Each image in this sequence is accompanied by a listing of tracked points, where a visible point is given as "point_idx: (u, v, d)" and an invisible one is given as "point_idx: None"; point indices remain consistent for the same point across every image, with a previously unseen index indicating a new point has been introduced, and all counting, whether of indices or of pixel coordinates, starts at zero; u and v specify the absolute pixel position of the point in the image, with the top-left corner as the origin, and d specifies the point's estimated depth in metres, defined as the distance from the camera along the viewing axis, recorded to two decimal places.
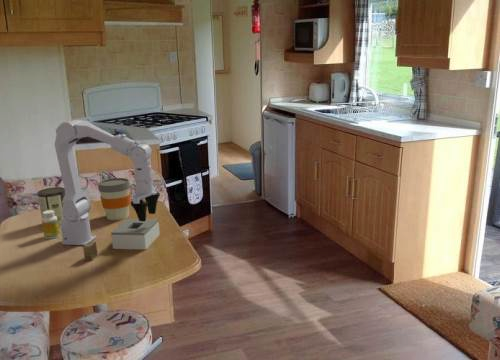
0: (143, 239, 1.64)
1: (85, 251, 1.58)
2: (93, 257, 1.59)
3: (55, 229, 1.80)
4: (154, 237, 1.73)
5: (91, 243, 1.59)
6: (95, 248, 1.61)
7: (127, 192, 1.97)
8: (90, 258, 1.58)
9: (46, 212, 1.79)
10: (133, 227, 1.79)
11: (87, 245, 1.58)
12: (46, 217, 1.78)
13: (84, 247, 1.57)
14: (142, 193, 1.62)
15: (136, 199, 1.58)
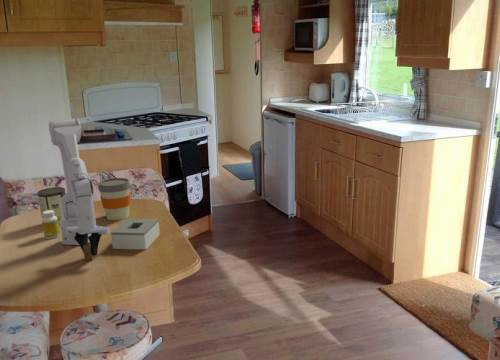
0: (143, 239, 1.64)
1: (85, 251, 1.58)
2: (93, 257, 1.59)
3: (55, 229, 1.80)
4: (154, 237, 1.73)
5: None
6: None
7: (127, 192, 1.97)
8: (90, 258, 1.58)
9: (46, 212, 1.79)
10: (133, 227, 1.79)
11: (87, 245, 1.58)
12: (46, 217, 1.78)
13: (84, 247, 1.57)
14: (78, 227, 1.58)
15: None
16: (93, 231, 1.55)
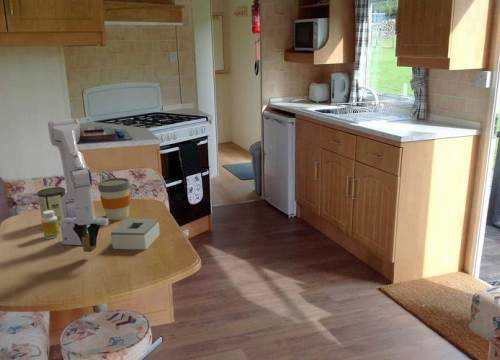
0: (143, 239, 1.64)
1: (84, 242, 1.57)
2: (92, 248, 1.58)
3: (55, 229, 1.80)
4: (154, 237, 1.73)
5: None
6: None
7: (127, 192, 1.97)
8: (89, 249, 1.57)
9: (46, 212, 1.79)
10: (133, 227, 1.79)
11: (86, 236, 1.57)
12: (46, 217, 1.78)
13: (83, 238, 1.57)
14: (77, 218, 1.57)
15: None
16: (92, 222, 1.54)
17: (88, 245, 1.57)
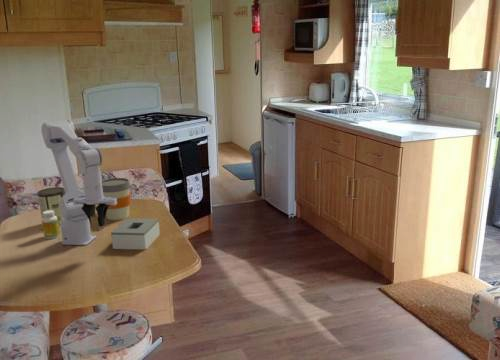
0: (143, 239, 1.64)
1: (92, 222, 1.58)
2: (100, 228, 1.60)
3: (55, 229, 1.80)
4: (154, 237, 1.73)
5: None
6: None
7: (127, 192, 1.97)
8: (97, 229, 1.59)
9: (46, 212, 1.79)
10: (133, 227, 1.79)
11: (94, 216, 1.58)
12: (46, 217, 1.78)
13: (91, 218, 1.58)
14: None
15: None
16: (100, 201, 1.56)
17: (97, 225, 1.58)
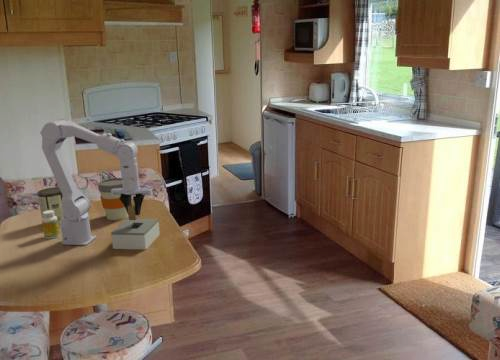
0: (143, 239, 1.64)
1: (129, 211, 1.68)
2: (136, 217, 1.70)
3: (55, 229, 1.80)
4: (154, 237, 1.73)
5: None
6: None
7: None
8: (134, 218, 1.68)
9: (46, 212, 1.79)
10: (133, 227, 1.79)
11: (131, 205, 1.68)
12: (46, 217, 1.78)
13: (128, 207, 1.68)
14: (123, 189, 1.68)
15: None
16: (138, 192, 1.66)
17: (133, 214, 1.68)
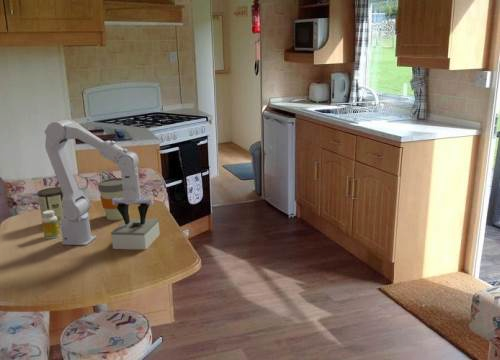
0: (143, 239, 1.64)
1: None
2: None
3: (55, 229, 1.80)
4: (154, 237, 1.73)
5: (137, 228, 1.72)
6: None
7: None
8: None
9: (46, 212, 1.79)
10: None
11: None
12: (46, 217, 1.78)
13: None
14: (124, 198, 1.69)
15: None
16: (139, 201, 1.66)
17: None
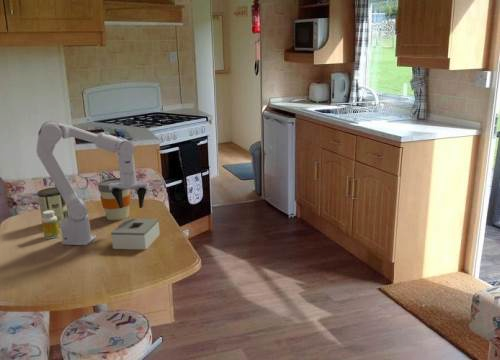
0: (143, 239, 1.64)
1: None
2: None
3: (55, 229, 1.80)
4: (154, 237, 1.73)
5: (137, 228, 1.72)
6: None
7: (127, 192, 1.97)
8: None
9: (46, 212, 1.79)
10: None
11: None
12: (46, 217, 1.78)
13: None
14: (120, 183, 1.78)
15: None
16: (135, 185, 1.76)
17: None
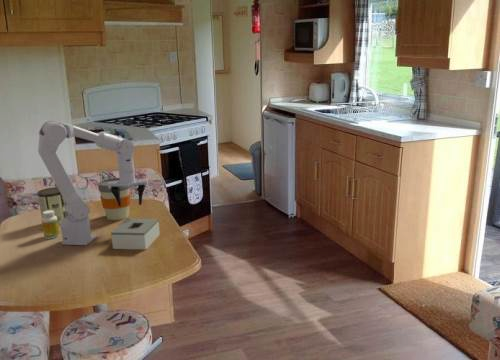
0: (143, 239, 1.64)
1: None
2: None
3: (55, 229, 1.80)
4: (154, 237, 1.73)
5: (137, 228, 1.72)
6: None
7: (127, 192, 1.97)
8: None
9: (46, 212, 1.79)
10: None
11: None
12: (46, 217, 1.78)
13: None
14: (119, 181, 1.81)
15: None
16: (135, 183, 1.80)
17: None
